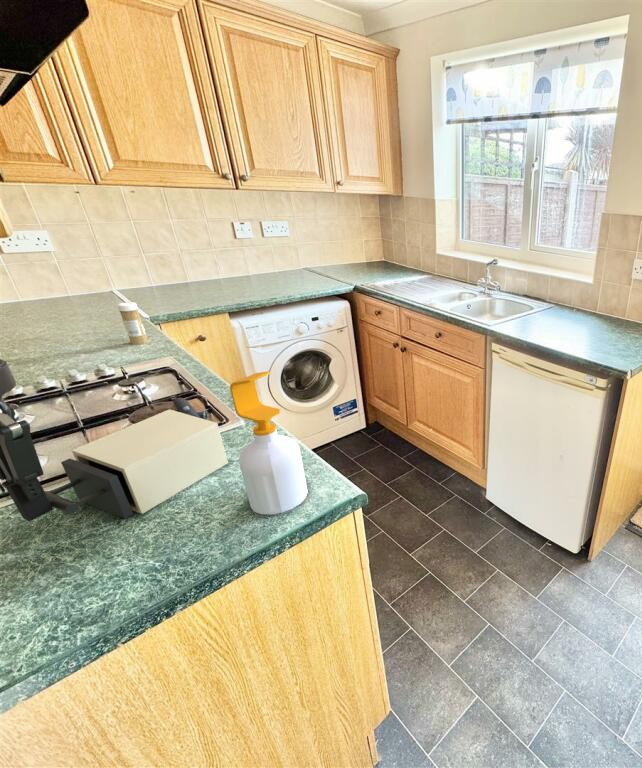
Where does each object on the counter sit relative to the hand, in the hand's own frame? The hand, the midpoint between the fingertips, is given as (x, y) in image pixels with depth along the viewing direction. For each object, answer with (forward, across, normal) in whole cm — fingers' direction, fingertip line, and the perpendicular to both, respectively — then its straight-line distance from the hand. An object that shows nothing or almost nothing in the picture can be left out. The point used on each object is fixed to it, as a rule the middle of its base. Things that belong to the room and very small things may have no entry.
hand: (38, 513), depth 61 cm
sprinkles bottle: (+6, +76, -59) cm, 96 cm away
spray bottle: (+6, -23, -20) cm, 31 cm away
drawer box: (+5, 0, -16) cm, 17 cm away
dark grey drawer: (+5, 0, -11) cm, 12 cm away
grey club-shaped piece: (+6, +14, -31) cm, 35 cm away
